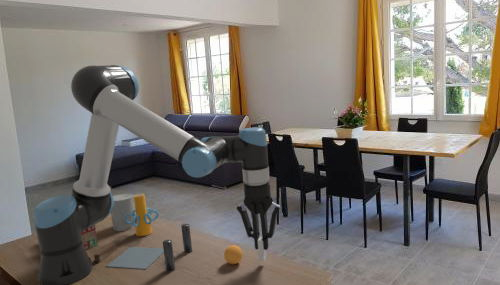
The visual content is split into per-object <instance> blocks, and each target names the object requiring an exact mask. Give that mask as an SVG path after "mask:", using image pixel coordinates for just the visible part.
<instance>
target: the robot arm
mask: <svg viewBox="0 0 500 285" xmlns="http://www.w3.org/2000/svg"><path fill="white" fill-rule="evenodd" d="M70 84H71V85H70V88H71V90H70V91H71V93H72V96H73V98H74V99H75V101H76V102H77V104H79V105H80V106H81V107H83V108H84V109H85V110H86V111H88V112H89V113H91V116H90V119H89V120H90V121H89V126H88V132H87V137H86V143H85V148H84V152H83V153H84V154H83V158H82V163H81V167H80V168H81V169H80V175H79V179H78V180H77V181H75V182H74V183H73V185H72V191H71V195H70V194H63V195H61V194H60V195H56V196H53V197H49V198H46V199H45V200H42V201H41V202H40V203H38V204H37V205H36V207H35V208H34V210H33V217H34V220H33V221H34V226H35V231H36V236H37V242H38V246H39V247H38V248H39V252H40V259H39V266H38V267H39V269H38V271H37V279H38V283H39V284H40V285H70V284H72V283H76V282H78V281H80V280H82V279H83V278H86V277H87V276H88V275H89V274H90V273H91V272H92V271H93V267H94V266H93V261H92V259H91V257H90V256H89V255H88V253H87V251H86V250H87V249H86V250H85V248H84V247H83V243H82V237H81V232H82V231H84V230H86V229H88V228H89V227H91V226H93V225H95V226H96V224H98V223H100V222H102V221H104V220H105V219H106V218H107V217H108V216H109V215H111V211H112V209H113V206H114V198H113V197H112V196H113V195H112V194H113V193H112V192H111V186H110V185H109V184H108V181H109V175H110V170H111V167H112V161H113V157H114V152H115V147H116V144H117V143H116V142H117V138H118V133H119V128H120V127H121V128H123V129H124V130H125V129H126V130H127V131H128V132H130V133H132V134H134V135H135V136H137V137H138V138H140V139H141V140H143V141H145V142H146V143H148V144H150V145H151V146H152V147H155V148H156V149H158V150H160V151H161V152H163V153H165V154H167V155H168V156H169V157H171V158H173V159H175V161H178V162H180V163H181V164H182V165H181V166H182V169H183V170H184V171H185V173H186V174H187V175H188V176H190V177H192V178H202V177H205V176H207V175H210V174H211V173H212V172H213V171H214V170H215V169H217V168H220V166H222V165H224V163H241V169H242V170H241V171H242V182H243V183H244V184H243V193H244V199H243V202H242V203H239V204H238V205H237V207H236V210H237V211H238V213H239V214H240V216H241V217H240V218H241V219H242V223H243V226H244V229H245V232H246V235H247V237H248V238H252V239H253V241H254V248H255V250H258V261H259V262H266V259H267V250H268V248H269V246H270V244H269V239H272V238H273V237H274V234H275V229H276V224H277V219H278V214H279V211H280V209H281V207H282V206H281V204H279V203H278V204H277V203H276V202H274V200H273V198H272V195H271V194H272V192H271V182H270V166H269V155H268V154H269V153H268V141H267V132H266V130H265V129H264V128H263V127H259V126H256V127H254V126H253V127H245V128H242V129H240V130H239V131H238V133H239V134H238V135H232V136H230V135H229V136H225V135H223V136H213V135H212V136H206V137H202V138H201V139H198V138H197V137H195V136H194V135H192V134H190V133H188V132H186V131H185V130H184V129H181V128H180V127H179V126H176V125H175V124H173V123H172V122H170V121H169V120H166V119H165V118H163V117H161V116H160V115H159V114H157V113H155V112H153V111H151V110H150V109H148V108H146V107H145V106H143V105H141V104H139V103H138V102H137V101H135V99H136V98H137V97H138V94H139V91H140V86H139V82H138V79H137V77H136V75H135V73H134V72H133V71H132V70H131V69H129V68H128V67H125V66H123V65H122V66H121V65H116V64H111V65H87V66H83V67H81V68H80V69H78V71H76V72H75V73H74V75H73V77H72V79H71V83H70ZM270 207H271V211H272V213H271V217H270V224H269V226H268V211H269V209H270ZM247 209H248V210H249V212H250V216H251V220H252V221H251V220H250V217H249V214H248V211H247ZM259 219H260V222H259ZM251 222H252V223H251ZM260 226H261V227H260ZM268 227H269V228H268ZM260 228H261V231H260ZM268 229H269V230H268ZM260 235H261V236H260Z"/></svg>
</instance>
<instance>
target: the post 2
mask: <svg viewBox="0 0 500 285" xmlns="http://www.w3.org/2000/svg"><path fill="white" fill-rule="evenodd" d="M190 227H191V226H190V224H189V223H184V224H181V235H182V243H183V244H182V246H183V252H184V254H189V253H192V252H193V247H192V246H193V245H192V237H191V228H190Z"/></svg>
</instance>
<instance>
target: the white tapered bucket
mask: <svg viewBox="0 0 500 285" xmlns="http://www.w3.org/2000/svg"><path fill="white" fill-rule="evenodd" d="M134 195H135V194H133V193H132V192H131V193H127V192H126V193H119V194H118V193H117V194H114V195H111V196H112V197H113V198H114V206H113V209H112V211H111V213H110V216H111V224H112V230H113V231H115V232H124V231H131V230H132V229H135V227H134V226H133V224H128V223H126V221H125V217H126V215H127V214H129V213H132V212H133V210H135V204H134ZM134 214H135V215H136V212H134ZM132 219H133V215H130V216H128V217H127V220H128V222H132Z"/></svg>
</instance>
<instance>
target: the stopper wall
mask: <svg viewBox="0 0 500 285" xmlns="http://www.w3.org/2000/svg"><path fill="white" fill-rule="evenodd" d="M117 250H118V249H117V243H116V242H110V243H109V244H107V245H106V246H104V247H102V249H101V250H99V251H97V252H96V253H94V256H93V257H94V262H95V263H101V262H103V261H105V260H106V259H107V258H108V257H109V256H112V255H113V253H115V252H116V251H117Z"/></svg>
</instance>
